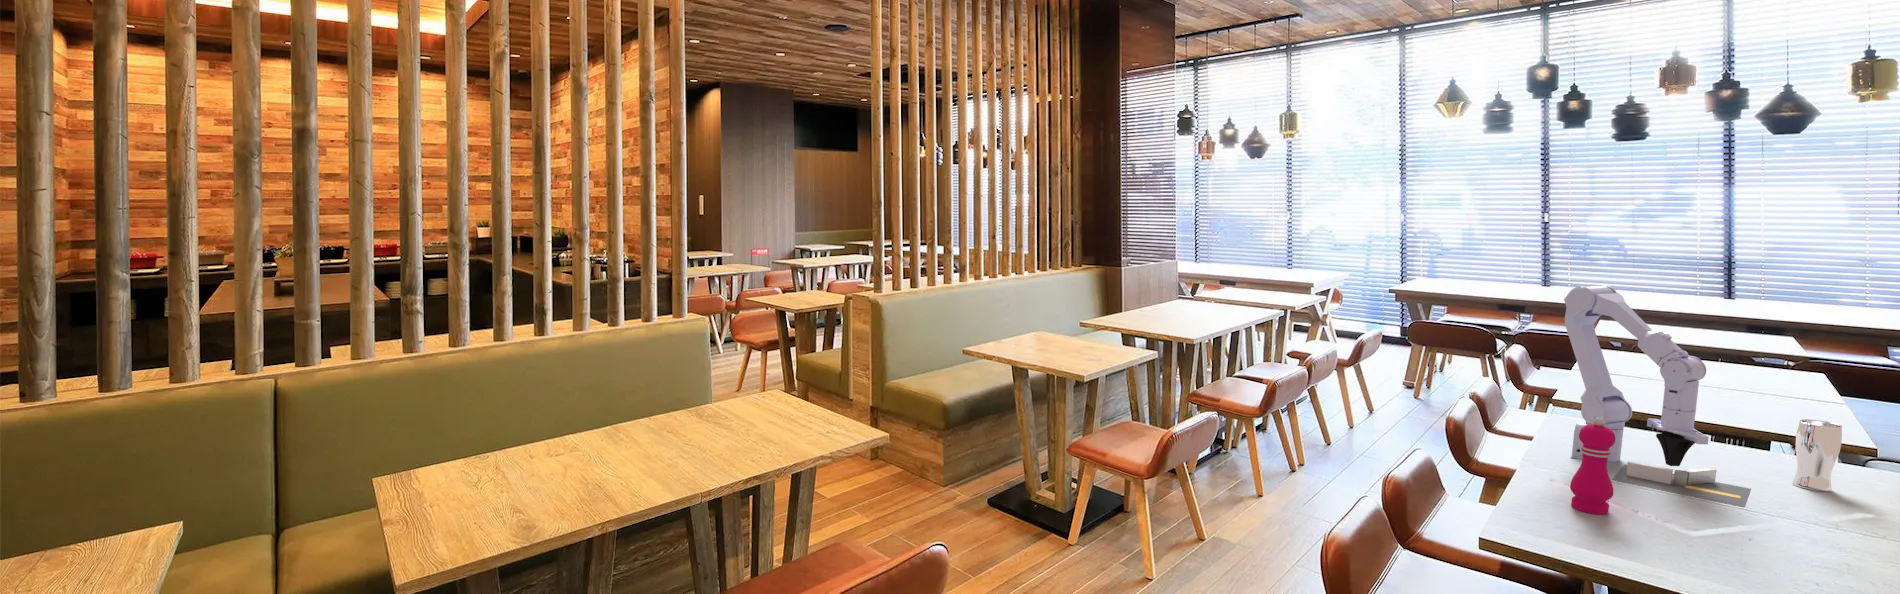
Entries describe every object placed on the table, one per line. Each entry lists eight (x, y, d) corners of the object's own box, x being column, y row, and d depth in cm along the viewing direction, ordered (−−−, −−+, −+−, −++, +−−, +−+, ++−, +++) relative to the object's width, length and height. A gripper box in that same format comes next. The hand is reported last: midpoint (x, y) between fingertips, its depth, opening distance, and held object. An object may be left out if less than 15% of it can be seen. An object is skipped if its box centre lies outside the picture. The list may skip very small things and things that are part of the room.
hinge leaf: (1687, 484, 182) (1689, 472, 181) (1682, 483, 183) (1683, 470, 182) (1714, 482, 183) (1716, 469, 183) (1709, 480, 184) (1710, 467, 184)
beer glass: (1813, 482, 186) (1822, 419, 184) (1843, 493, 179) (1853, 428, 177) (1780, 481, 187) (1789, 418, 185) (1809, 492, 180) (1818, 427, 178)
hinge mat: (1611, 483, 186) (1613, 466, 185) (1624, 467, 196) (1626, 451, 196) (1744, 510, 169) (1746, 492, 169) (1750, 492, 180) (1752, 475, 179)
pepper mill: (1619, 516, 166) (1629, 423, 164) (1579, 514, 168) (1589, 421, 165) (1598, 503, 173) (1608, 414, 171) (1561, 501, 175) (1570, 412, 172)
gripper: (1636, 400, 193) (1630, 455, 195) (1687, 416, 179) (1681, 475, 180) (1666, 400, 193) (1660, 455, 194) (1720, 417, 178) (1714, 476, 180)
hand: (1672, 465), depth 187 cm, fingers closed
